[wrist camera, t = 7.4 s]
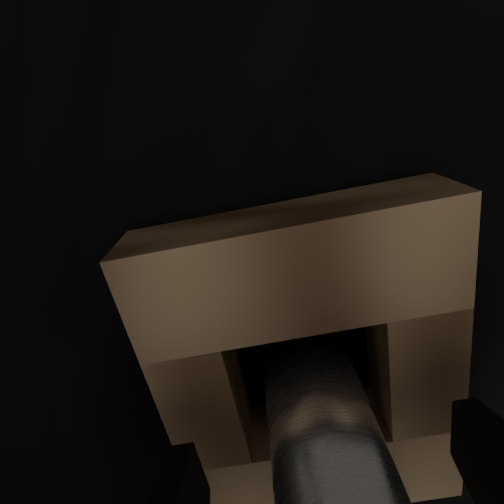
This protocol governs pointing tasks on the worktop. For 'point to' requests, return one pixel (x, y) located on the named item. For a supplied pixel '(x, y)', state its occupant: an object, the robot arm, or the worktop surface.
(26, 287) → the worktop surface
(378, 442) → the metal peg
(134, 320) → the socket plate
